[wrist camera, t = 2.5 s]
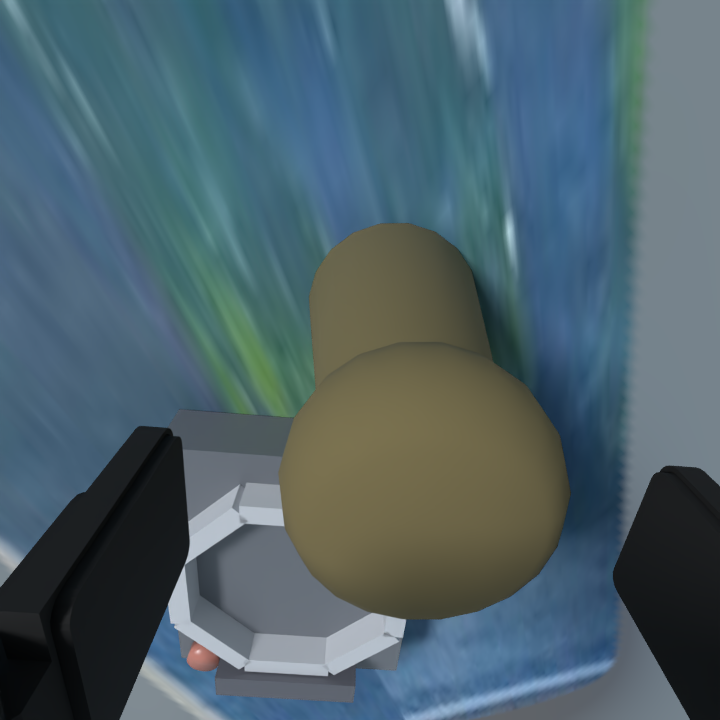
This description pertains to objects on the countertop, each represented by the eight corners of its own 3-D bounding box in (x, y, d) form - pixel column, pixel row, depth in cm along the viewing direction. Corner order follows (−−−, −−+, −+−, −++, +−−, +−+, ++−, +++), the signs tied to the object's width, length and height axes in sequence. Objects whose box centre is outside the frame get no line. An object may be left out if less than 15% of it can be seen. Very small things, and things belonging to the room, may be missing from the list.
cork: (512, 307, 17) (710, 554, 7) (391, 409, 19) (419, 713, 9) (395, 182, 15) (450, 289, 6) (273, 309, 17) (156, 556, 7)
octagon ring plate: (179, 409, 19) (136, 475, 16) (427, 428, 20) (441, 497, 16) (198, 608, 25) (170, 691, 21) (393, 621, 25) (398, 705, 21)
